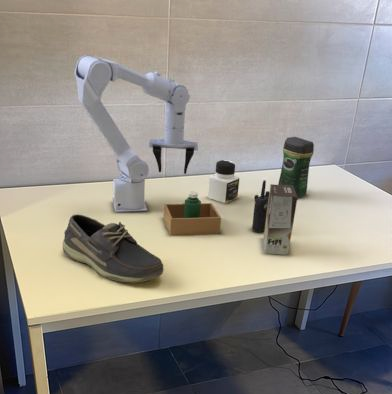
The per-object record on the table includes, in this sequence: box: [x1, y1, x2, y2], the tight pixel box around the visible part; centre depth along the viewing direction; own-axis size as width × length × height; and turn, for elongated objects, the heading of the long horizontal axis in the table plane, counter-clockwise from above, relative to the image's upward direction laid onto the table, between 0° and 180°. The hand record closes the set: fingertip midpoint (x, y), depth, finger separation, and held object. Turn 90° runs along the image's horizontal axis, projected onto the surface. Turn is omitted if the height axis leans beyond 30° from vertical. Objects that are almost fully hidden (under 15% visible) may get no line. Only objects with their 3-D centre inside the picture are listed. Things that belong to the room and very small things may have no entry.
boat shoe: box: [62, 214, 164, 283], centre depth 128 cm, size 11×29×11 cm, turn 58°
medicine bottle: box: [207, 159, 241, 204], centre depth 173 cm, size 7×7×12 cm
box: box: [163, 202, 222, 236], centre depth 154 cm, size 14×11×5 cm
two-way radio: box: [251, 179, 270, 233], centre depth 152 cm, size 6×4×15 cm
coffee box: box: [262, 183, 299, 256], centre depth 142 cm, size 9×6×16 cm
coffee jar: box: [277, 136, 315, 199], centre depth 179 cm, size 10×8×19 cm
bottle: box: [183, 191, 202, 218], centre depth 152 cm, size 5×5×9 cm
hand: (172, 171), depth 166 cm, fingers open, 7 cm apart
